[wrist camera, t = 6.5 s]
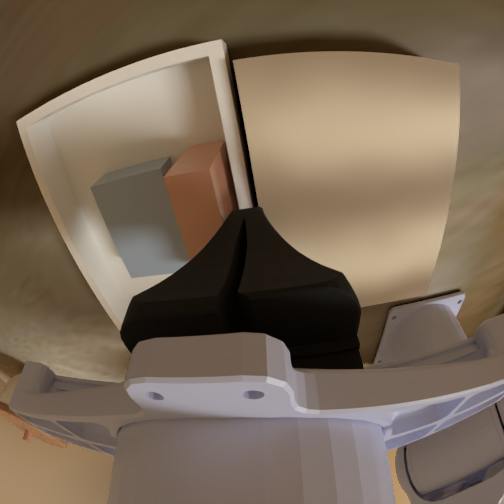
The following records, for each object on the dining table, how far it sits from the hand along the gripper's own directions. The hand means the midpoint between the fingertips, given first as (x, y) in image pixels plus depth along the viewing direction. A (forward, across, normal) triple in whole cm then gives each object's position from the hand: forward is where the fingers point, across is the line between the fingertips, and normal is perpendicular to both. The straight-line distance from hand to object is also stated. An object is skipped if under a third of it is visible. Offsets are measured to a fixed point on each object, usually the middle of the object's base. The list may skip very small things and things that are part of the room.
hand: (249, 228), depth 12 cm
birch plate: (+4, -6, 0) cm, 7 cm away
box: (+4, +5, 0) cm, 6 cm away
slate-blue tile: (+1, +6, 0) cm, 6 cm away
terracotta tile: (+1, +1, 0) cm, 1 cm away
